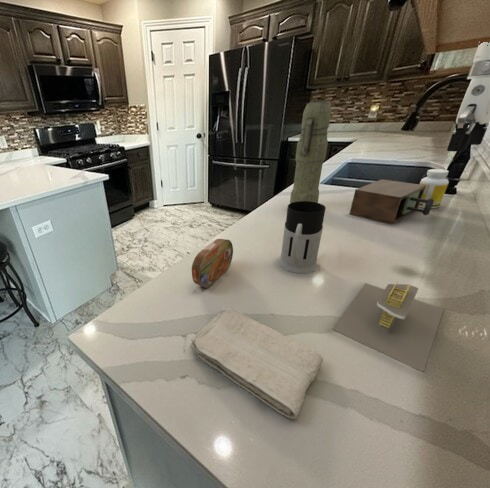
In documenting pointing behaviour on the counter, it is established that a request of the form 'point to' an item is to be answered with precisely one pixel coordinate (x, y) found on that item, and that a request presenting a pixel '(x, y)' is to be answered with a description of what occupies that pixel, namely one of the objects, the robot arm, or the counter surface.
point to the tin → (212, 262)
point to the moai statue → (311, 151)
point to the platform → (392, 322)
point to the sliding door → (412, 201)
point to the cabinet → (384, 200)
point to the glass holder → (302, 236)
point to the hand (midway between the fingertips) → (463, 147)
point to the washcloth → (259, 360)
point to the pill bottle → (434, 186)
